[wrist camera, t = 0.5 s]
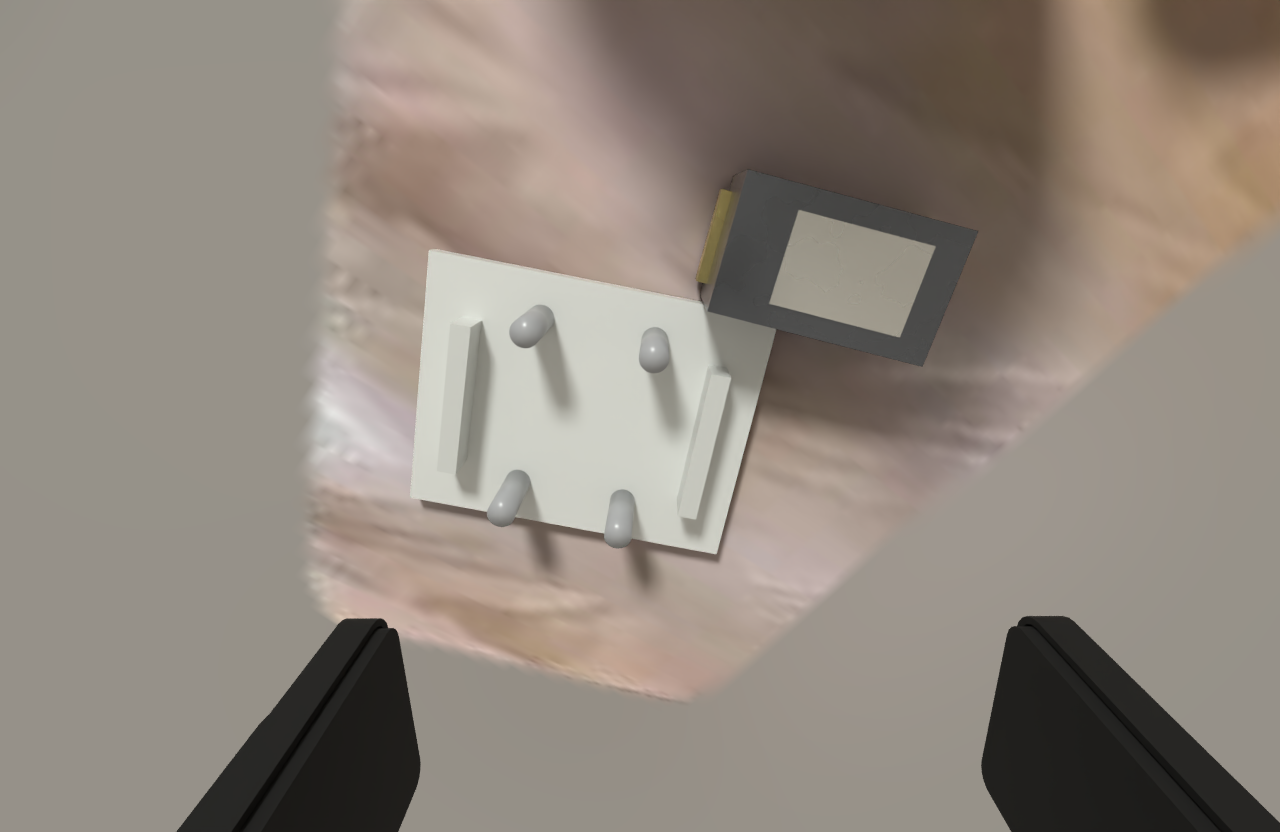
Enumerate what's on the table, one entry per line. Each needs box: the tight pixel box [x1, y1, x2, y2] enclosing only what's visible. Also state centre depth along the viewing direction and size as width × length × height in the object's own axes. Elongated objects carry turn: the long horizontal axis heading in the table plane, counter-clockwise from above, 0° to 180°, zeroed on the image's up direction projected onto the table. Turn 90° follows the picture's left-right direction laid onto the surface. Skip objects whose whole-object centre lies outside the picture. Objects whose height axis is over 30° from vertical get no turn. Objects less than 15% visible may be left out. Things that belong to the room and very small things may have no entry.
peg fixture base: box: [410, 249, 776, 554], centre depth 32 cm, size 18×14×5 cm
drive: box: [695, 169, 978, 366], centre depth 29 cm, size 10×6×6 cm, turn 76°
